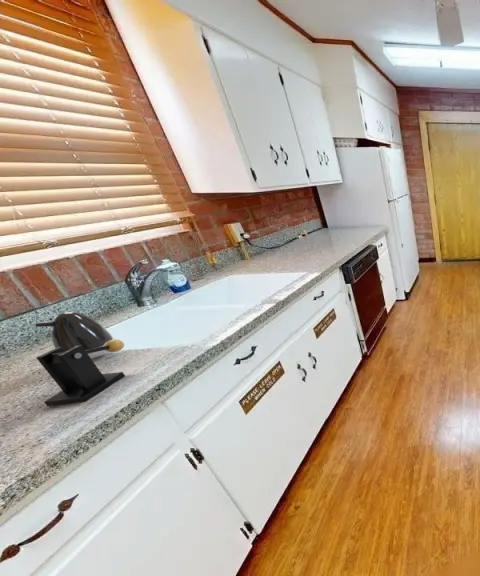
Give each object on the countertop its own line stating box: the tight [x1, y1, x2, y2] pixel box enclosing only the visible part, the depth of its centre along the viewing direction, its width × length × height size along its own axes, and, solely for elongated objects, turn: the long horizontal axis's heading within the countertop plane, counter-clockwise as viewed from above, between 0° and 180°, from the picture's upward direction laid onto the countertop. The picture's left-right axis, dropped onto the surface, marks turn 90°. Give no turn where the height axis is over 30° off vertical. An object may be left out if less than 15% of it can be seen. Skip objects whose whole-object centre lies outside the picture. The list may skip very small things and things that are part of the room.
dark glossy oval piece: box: [34, 311, 114, 360], centre depth 89 cm, size 10×10×15 cm
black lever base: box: [36, 345, 126, 407], centre depth 76 cm, size 10×8×13 cm
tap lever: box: [50, 339, 125, 364], centre depth 80 cm, size 14×4×4 cm, turn 11°
